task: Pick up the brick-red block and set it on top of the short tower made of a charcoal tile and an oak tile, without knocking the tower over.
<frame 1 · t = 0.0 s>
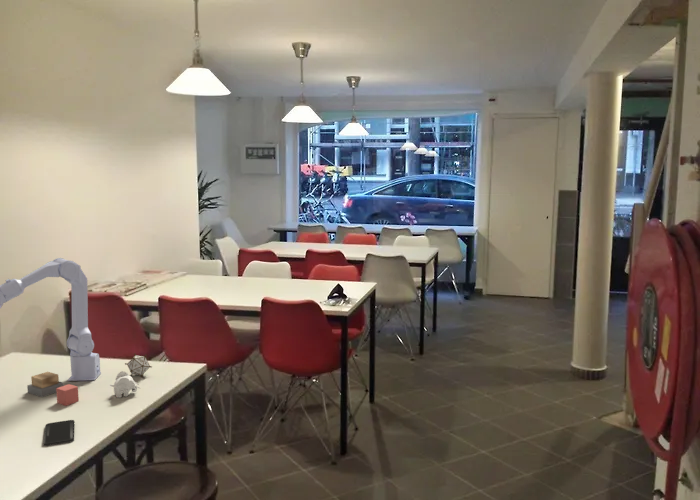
charcoal base tile: (45, 392, 214), on the table, touching oak tile
phone: (59, 435, 180), on the table
grey geodesic polyhedron: (139, 376, 229), on the table
elephant figurine: (125, 395, 210), on the table
oak tile: (45, 384, 213), point 2 cm above the table, touching charcoal base tile
red block: (68, 402, 204), on the table
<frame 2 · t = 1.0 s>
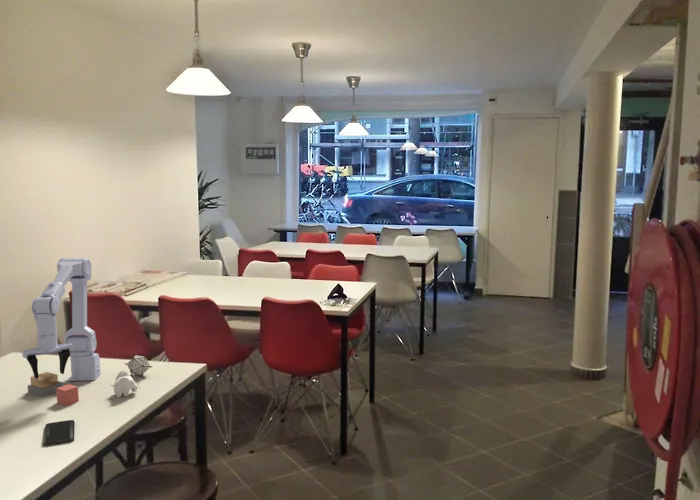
hand: (49, 375, 201), 10 cm above the table, tool pointing down, fingers open, 7 cm apart
nothing on the table moved.
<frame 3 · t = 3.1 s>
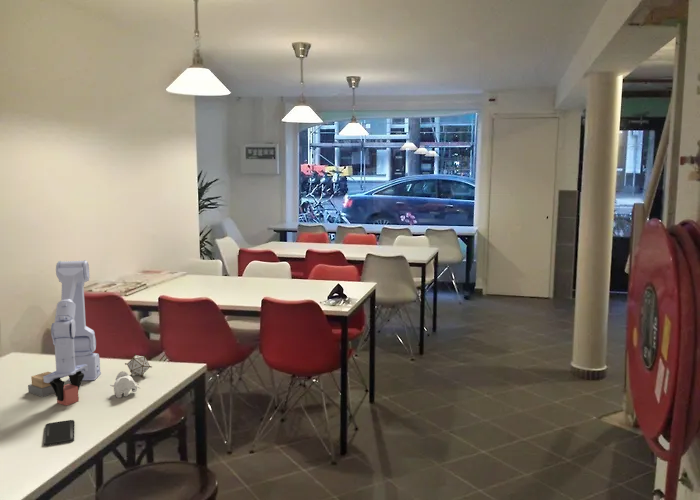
hand: (67, 397, 204), 1 cm above the table, tool pointing down, fingers closed on red block, 5 cm apart
red block: (68, 401, 204), on the table, touching gripper
everything else where it was.
when the fingers open (8 cm above the table, at t = 6.8 s): red block drops 1 cm, resting on oak tile.
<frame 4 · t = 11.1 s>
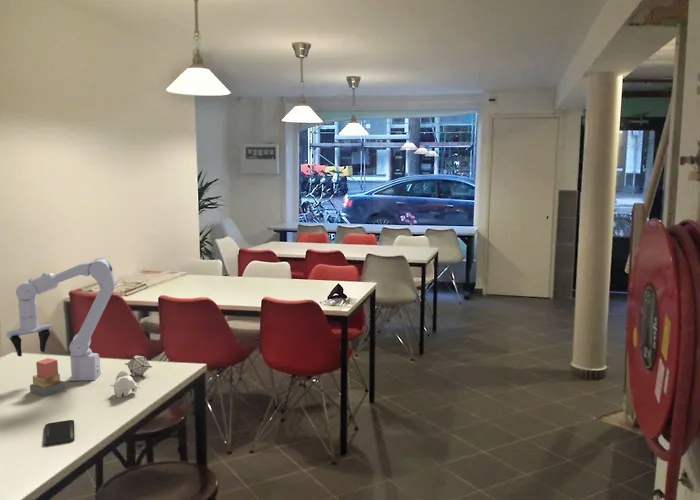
hand: (31, 353, 221), 10 cm above the table, tool pointing down, fingers open, 7 cm apart
oak tile: (46, 383, 214), point 2 cm above the table, touching charcoal base tile, red block
red block: (47, 375, 213), point 6 cm above the table, touching oak tile
everything else where it was.
at the end: red block 0.3 cm off-centre on the charcoal base tile, point 6.0 cm above the charcoal base tile's base; oak tile 0.4 cm off-centre on the charcoal base tile, point 3.0 cm above the charcoal base tile's base; charcoal base tile moved 0.9 cm from its start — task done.
